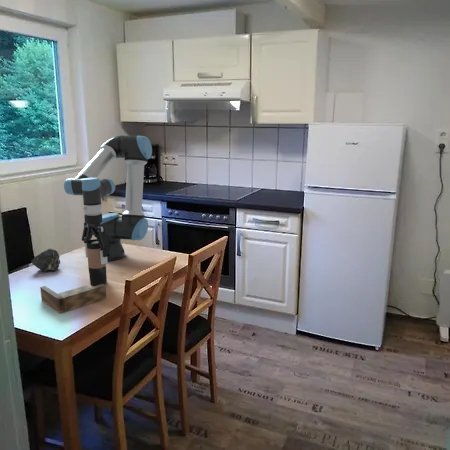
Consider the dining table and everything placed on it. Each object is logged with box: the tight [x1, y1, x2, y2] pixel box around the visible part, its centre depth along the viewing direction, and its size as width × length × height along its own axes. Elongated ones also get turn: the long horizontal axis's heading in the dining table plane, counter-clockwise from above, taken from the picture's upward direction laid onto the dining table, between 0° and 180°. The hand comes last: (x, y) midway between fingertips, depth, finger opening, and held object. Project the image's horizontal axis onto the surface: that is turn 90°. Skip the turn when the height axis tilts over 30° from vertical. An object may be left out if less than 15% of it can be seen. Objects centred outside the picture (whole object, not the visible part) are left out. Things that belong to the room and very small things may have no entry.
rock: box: [31, 248, 61, 272], centre depth 214 cm, size 12×10×10 cm
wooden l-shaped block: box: [39, 284, 107, 314], centre depth 181 cm, size 20×17×6 cm
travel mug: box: [87, 238, 108, 287], centre depth 196 cm, size 8×8×20 cm
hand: (96, 260), depth 195 cm, fingers open, 13 cm apart
